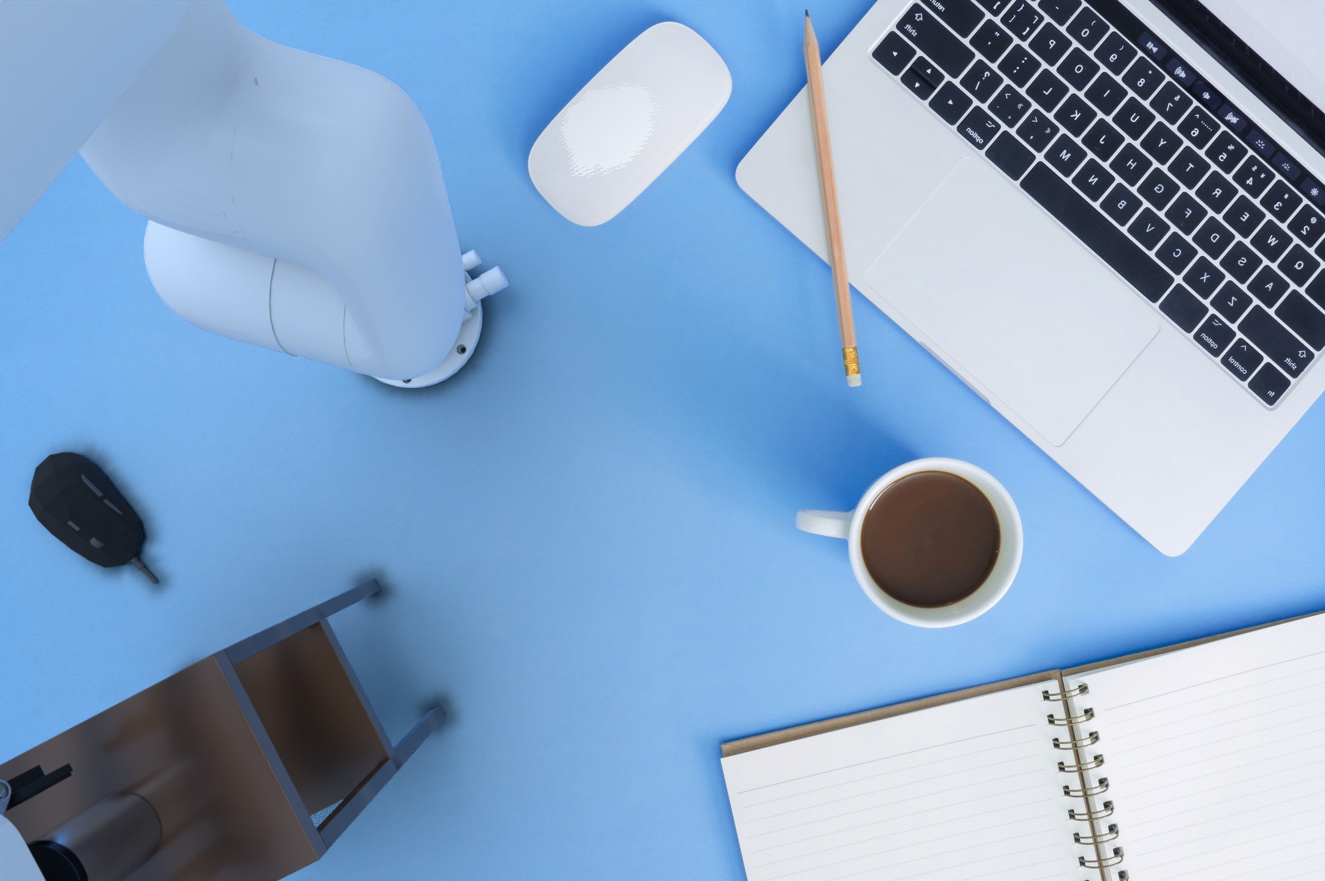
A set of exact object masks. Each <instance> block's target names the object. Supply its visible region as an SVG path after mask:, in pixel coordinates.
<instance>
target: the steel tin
mask: <svg viewBox="0 0 1325 881" xmlns="http://www.w3.org/2000/svg"><path fill="white" fill-rule="evenodd" d="M160 839H161V826H160V821H159V818H158V816H157V814H156V812H155V810H154V809H153V807H152V806H151V805H150V804H149V803H148V802H147V801H146V800H144V799H143V798H141V797H139V796H137V795H135V794H132V793H126V792H117V793H112V794H109V795H106V796H104V797H102V798H101V799H99V800H98V801H96V802H94V803H93V804H91V805H89V806H88V807H86V808H85V809H83V810H81V811H80V812H78V813H77V814H75V815H73V816H72V817H70V818H68V819H67V820H65V821H64V822H62V823H60V824H59V825H57V826H56V827H54V828H52V829H51V830H49V831H47V832H46V833H44V834H43V835H41V836H39V837H38V838H36V839H35V840H33V841H31V842H28V843H26V845H27V847H28V848H29V850H30V852H31V854H32V856H33V858H34V860H35V862H36V863H37V865H38V867H39V869H40V871H41V873H42V875H43V877H44V879H45V881H124V880H125V879H126V878H128V877H129V876H130V875H132V874H133V873H134V872H135V871H137V870H138V869H139V868H140V867H142V866H143V865H144V864H146V863H147V862H148V861H149V860H150V859H151V858H152V857H153V855H154V854H155V853H156V851H157V849H158V846H159V843H160Z"/></svg>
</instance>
